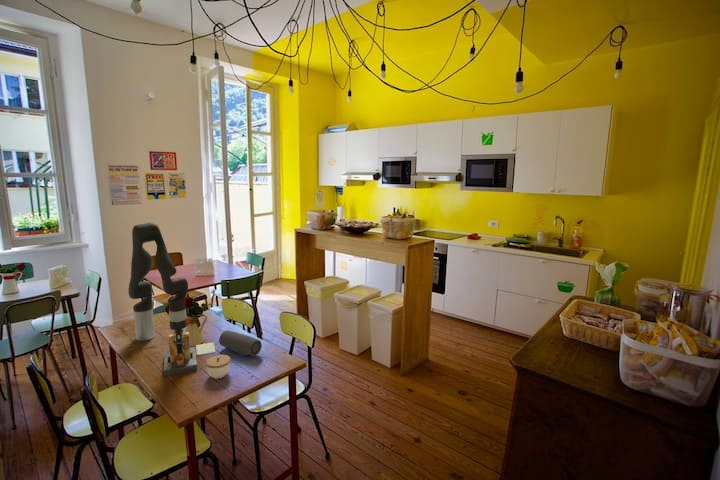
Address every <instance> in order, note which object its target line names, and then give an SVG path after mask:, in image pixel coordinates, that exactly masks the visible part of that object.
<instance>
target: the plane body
mask: <svg viewBox="0 0 720 480" xmlns="http://www.w3.org/2000/svg"><path fill="white" fill-rule="evenodd" d="M190 358H191V359H187V360H184V359H178V360H177V361H176V362H170V350H167V351H165V352H164V361H163V377H169V376H173V375H174V376H175V375H179V374H184V373H185V374H186V373H190V372H195V371H197V370H198V363H197V351H196V346H190Z"/></svg>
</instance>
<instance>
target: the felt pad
mask: <svg viewBox="0 0 720 480" xmlns="http://www.w3.org/2000/svg"><path fill="white" fill-rule="evenodd" d="M195 350H196V357H198V356H202V355H204V356H205V355H210V354H215V353H216V348H215V343H214V342H207V343H202V344H196V345H195Z"/></svg>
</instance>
